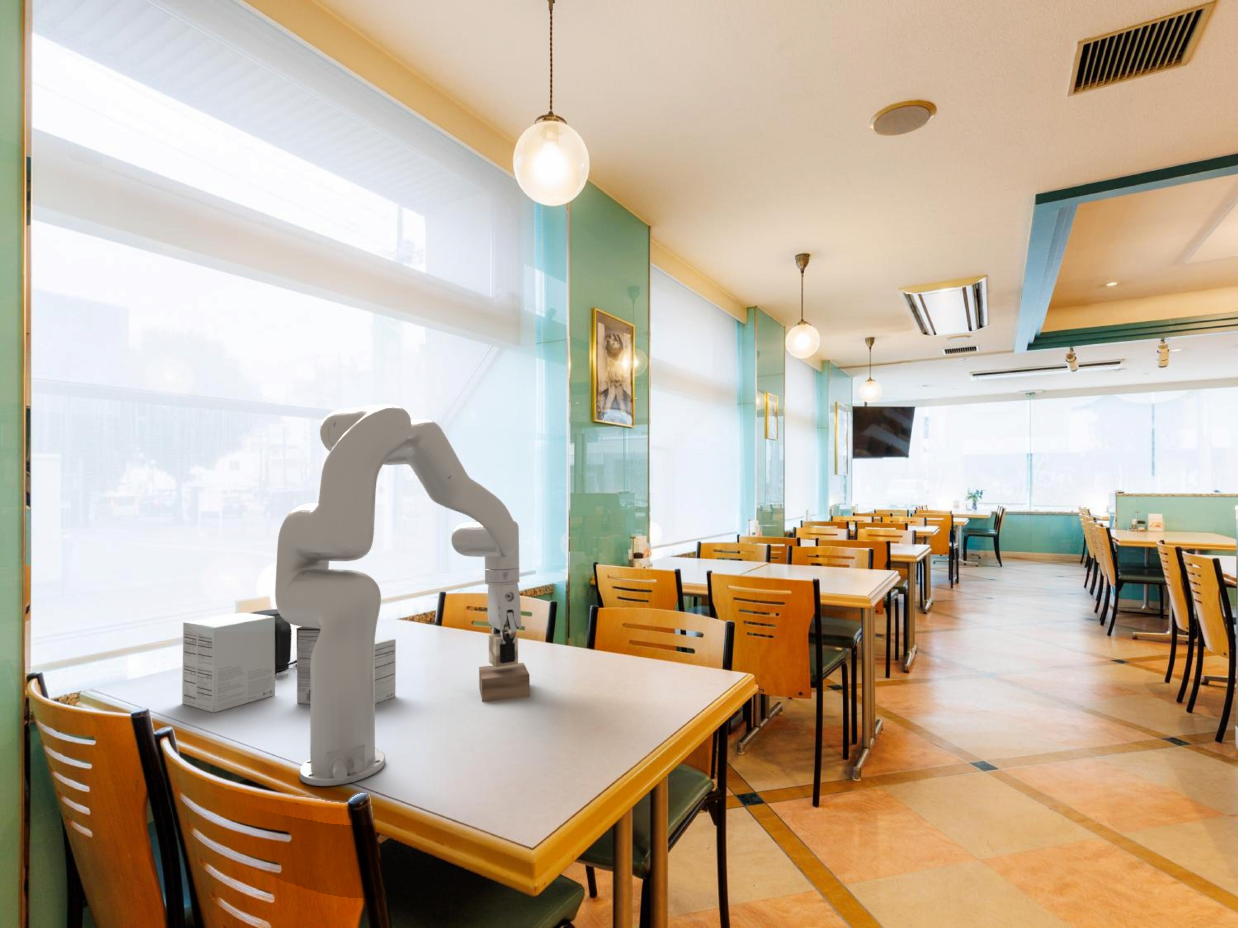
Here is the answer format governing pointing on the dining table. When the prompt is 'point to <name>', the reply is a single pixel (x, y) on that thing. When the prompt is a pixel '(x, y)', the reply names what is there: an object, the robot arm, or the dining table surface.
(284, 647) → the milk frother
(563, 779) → the dining table surface
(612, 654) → the dining table surface
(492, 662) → the maple block
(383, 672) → the supplement box
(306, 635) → the coffee box
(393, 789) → the dining table surface
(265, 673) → the supplement box
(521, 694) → the walnut block
